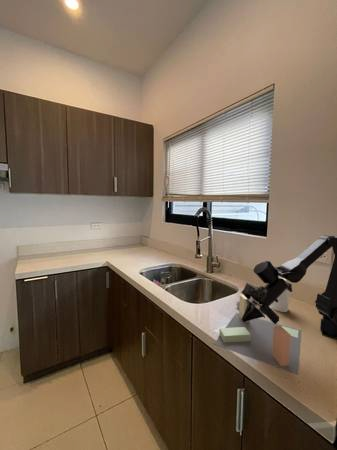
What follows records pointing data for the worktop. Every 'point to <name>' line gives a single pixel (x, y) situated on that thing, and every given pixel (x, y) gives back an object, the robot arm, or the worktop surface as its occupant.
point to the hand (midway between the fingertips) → (242, 320)
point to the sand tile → (242, 306)
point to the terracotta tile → (281, 345)
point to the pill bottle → (281, 301)
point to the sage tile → (234, 334)
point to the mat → (263, 342)
